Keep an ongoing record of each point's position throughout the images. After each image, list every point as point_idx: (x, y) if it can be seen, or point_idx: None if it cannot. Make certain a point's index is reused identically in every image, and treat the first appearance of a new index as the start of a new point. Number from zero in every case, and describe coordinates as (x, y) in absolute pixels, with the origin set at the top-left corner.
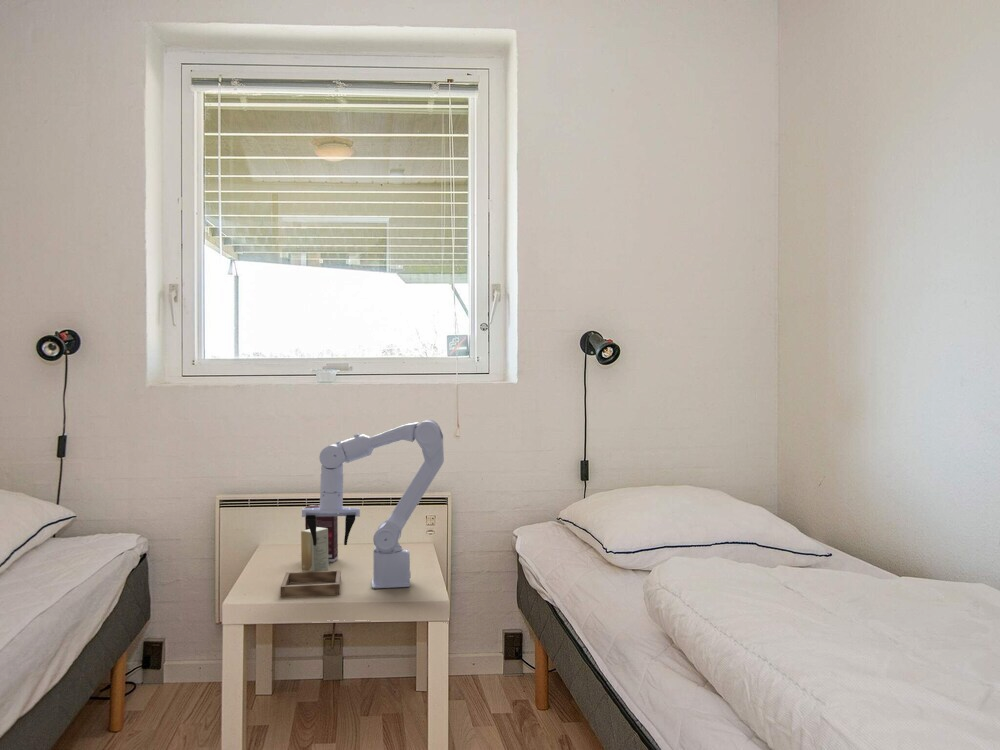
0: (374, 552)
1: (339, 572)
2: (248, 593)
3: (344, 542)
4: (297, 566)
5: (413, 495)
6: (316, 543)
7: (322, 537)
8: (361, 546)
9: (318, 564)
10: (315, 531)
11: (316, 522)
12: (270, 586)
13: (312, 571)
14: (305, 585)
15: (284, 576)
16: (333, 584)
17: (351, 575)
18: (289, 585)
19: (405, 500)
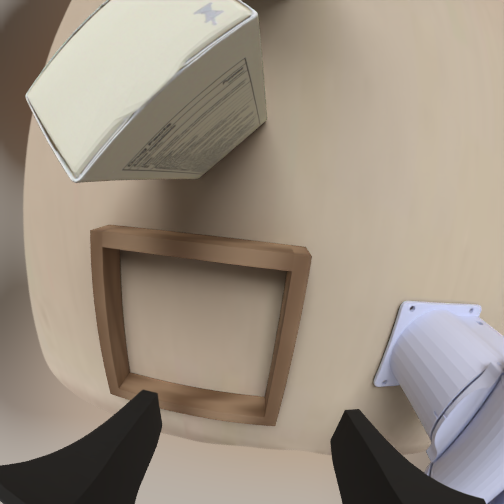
0: (430, 429)
1: (300, 296)
2: (48, 313)
3: (333, 454)
4: None
5: None
6: (157, 401)
7: (206, 92)
8: None
9: (213, 153)
10: (134, 499)
11: (89, 494)
12: (76, 263)
13: (184, 243)
14: (174, 410)
15: (93, 288)
16: (257, 424)
17: (354, 192)
18: (129, 393)
19: None
